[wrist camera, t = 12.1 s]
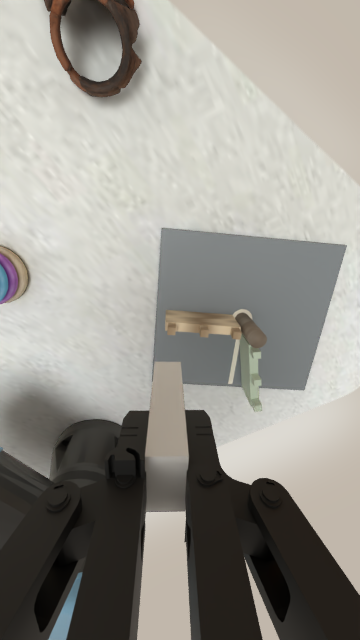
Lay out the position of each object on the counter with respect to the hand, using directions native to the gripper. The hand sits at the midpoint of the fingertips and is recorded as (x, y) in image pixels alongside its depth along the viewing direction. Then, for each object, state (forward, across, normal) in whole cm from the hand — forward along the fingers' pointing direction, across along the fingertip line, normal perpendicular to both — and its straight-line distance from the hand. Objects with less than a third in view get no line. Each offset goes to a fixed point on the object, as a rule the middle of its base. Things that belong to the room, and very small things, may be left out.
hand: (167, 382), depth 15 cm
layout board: (+24, +11, -4) cm, 27 cm away
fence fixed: (+24, +6, -4) cm, 25 cm away
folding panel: (+23, +12, -11) cm, 29 cm away
